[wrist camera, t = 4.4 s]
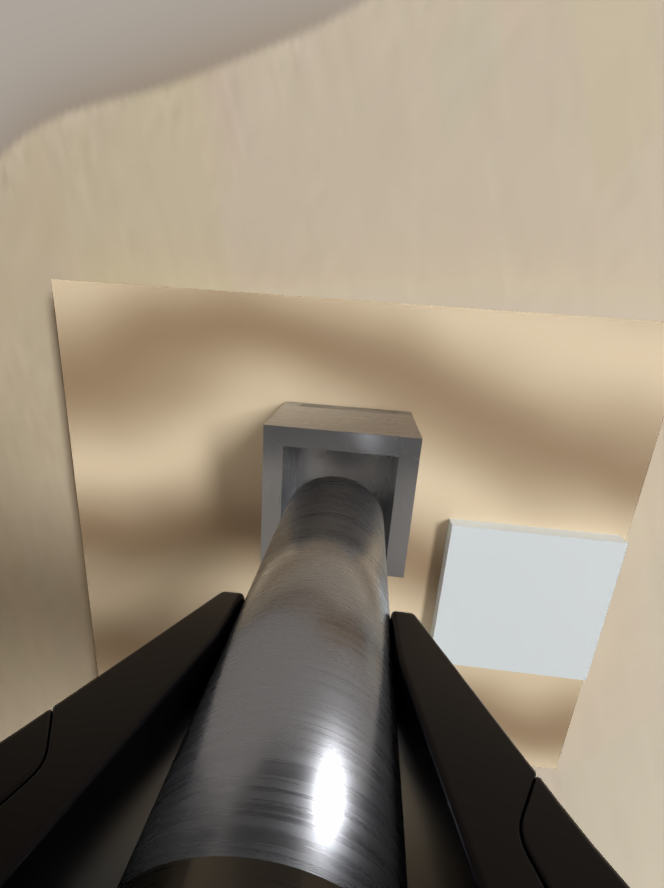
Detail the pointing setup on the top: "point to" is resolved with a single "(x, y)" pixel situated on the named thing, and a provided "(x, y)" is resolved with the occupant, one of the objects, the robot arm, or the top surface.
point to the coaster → (524, 596)
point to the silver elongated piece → (343, 463)
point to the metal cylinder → (293, 722)
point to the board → (352, 385)
